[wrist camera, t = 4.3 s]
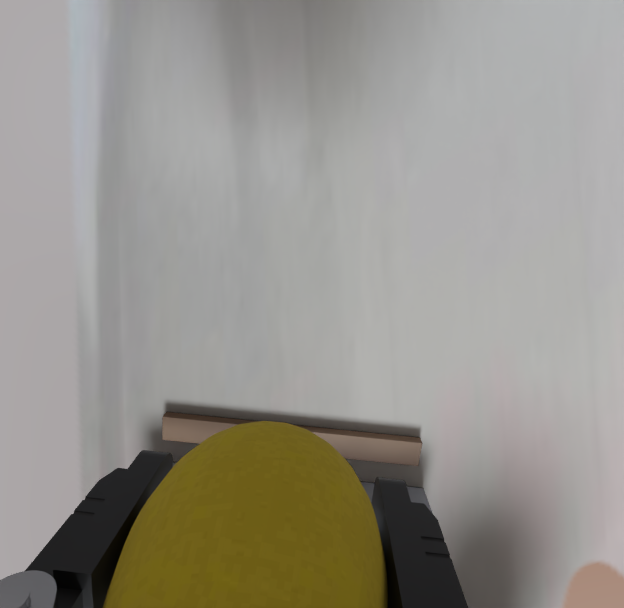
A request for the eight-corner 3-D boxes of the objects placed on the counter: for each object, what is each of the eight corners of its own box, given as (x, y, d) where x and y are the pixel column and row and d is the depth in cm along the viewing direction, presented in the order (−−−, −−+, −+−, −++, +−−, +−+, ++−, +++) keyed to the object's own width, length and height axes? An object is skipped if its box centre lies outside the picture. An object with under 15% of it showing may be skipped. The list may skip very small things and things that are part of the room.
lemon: (160, 410, 12) (-141, 788, 4) (324, 344, 11) (317, 658, 4) (240, 543, 13) (119, 1025, 6) (393, 492, 12) (500, 967, 5)
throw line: (166, 411, 24) (162, 416, 24) (419, 437, 24) (422, 443, 24) (166, 434, 25) (162, 439, 24) (415, 460, 25) (418, 466, 24)
